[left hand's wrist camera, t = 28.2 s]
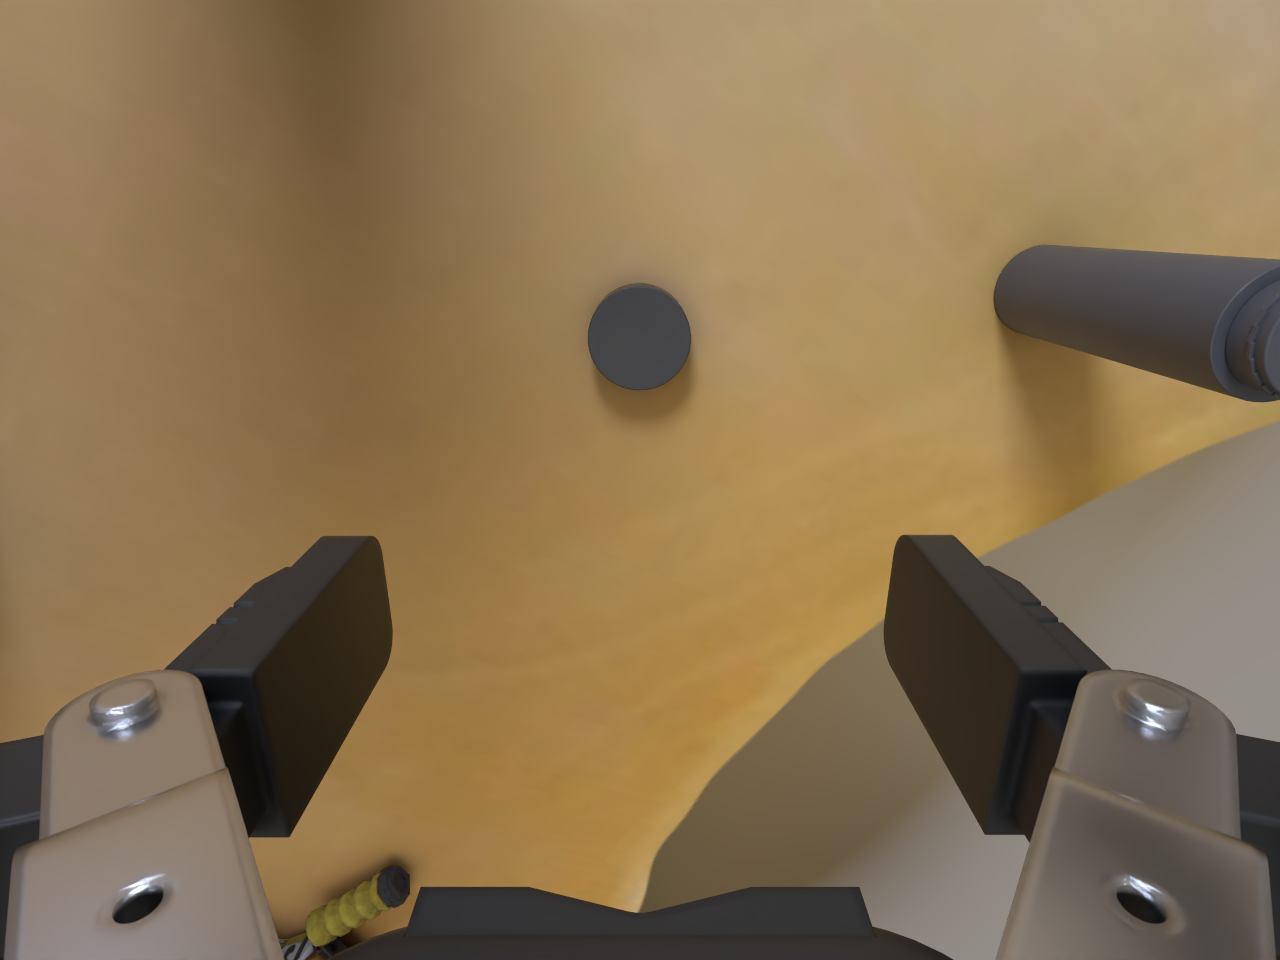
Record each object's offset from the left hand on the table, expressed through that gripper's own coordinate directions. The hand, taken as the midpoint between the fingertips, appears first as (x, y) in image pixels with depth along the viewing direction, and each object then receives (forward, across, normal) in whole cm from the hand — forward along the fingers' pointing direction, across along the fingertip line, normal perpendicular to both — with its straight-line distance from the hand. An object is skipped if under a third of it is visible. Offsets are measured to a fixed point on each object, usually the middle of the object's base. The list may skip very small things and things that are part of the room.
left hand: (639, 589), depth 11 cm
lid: (+26, 0, 0) cm, 26 cm away
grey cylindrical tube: (+27, +20, +2) cm, 34 cm away
